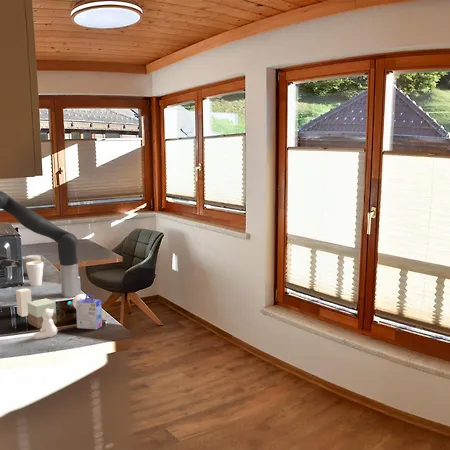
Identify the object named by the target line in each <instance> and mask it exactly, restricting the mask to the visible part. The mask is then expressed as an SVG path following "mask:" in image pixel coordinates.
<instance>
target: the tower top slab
mask: <svg viewBox="0 0 450 450" xmlns="http://www.w3.org/2000/svg"><path fill="white" fill-rule="evenodd" d="M27 304H28V313H29V314H31V315H33V316H35V317H41V316H43V312H44V311H45V309H47V308H49V309H54V312H53V314H54V313H56V314H57V304H56V302H55V301H54V300H51V299H49V298H47V297H46V298H42V299H36V300H33V301H31V302H27Z"/></svg>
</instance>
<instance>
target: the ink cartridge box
mask: <svg viewBox="0 0 450 450" xmlns="http://www.w3.org/2000/svg"><path fill="white" fill-rule="evenodd" d="M85 295H86V298H85V299H80V300H79V301H77V302H76V308H75V310H76V328H77V329H86V330H98V329H99V328H101V327H103V318H102V317H103V314H102V300H101V299H94V296H95V295H94V294H88V293H87V294H85ZM87 297H88V298H87Z"/></svg>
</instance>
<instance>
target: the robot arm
mask: <svg viewBox="0 0 450 450" xmlns="http://www.w3.org/2000/svg"><path fill="white" fill-rule="evenodd" d="M0 210H3V211H5V212H7V213H8V214H10V215H12V216H13V217H14V218H15V219H16V220H17V222H19V224H20V225H22V226H23V227H25V228H26V229H28V230H29V231H32V232H33V233H35V234H37V235H40V236H44V237H46V238H49V239H51V240H53V241H54V242H56V244H57V252H58V260H59V266H60V267H59V269H60V270H59V272H60V273H59V274H60V286H61V287H60V289H61V297H64V298H71V297H76V296H77V295H79V294H82V290H81V287H82V286H81V276H80V275H79V260H78V256H77V247H78V244H79V240H78V237H77V236H76V235H74V234H73V233H71V232H69V231H66V230H64V229H63V228H60V227H58V226H57V225H55V224H54V223H52V221H50V220H48V219H46V218H45V217H43V216H42V215H41V214H39V213H37V212H35V211H33V210H32V209H30V208H29V207H27V206H25V205H23V204H21V203H19V202H18V201H16V200H15V199H13V197H11V196H10V195H8V194H7V193H5V192H4V191H2V190H0ZM22 262H23V261H22V260H21V259H18V258H14V259H9V258H8V257H7V256H6V255H3V254H0V271H4V270H5V269H6V268H14V267H18V268H22V266H23V265H22Z"/></svg>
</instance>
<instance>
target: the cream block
mask: <svg viewBox="0 0 450 450" xmlns="http://www.w3.org/2000/svg"><path fill="white" fill-rule="evenodd" d="M15 297H16V300H15V301H16V312H17V313H16V314H18V316H20V317H28V304H27V302H31V301H32V289H30V288H27V287H26V288H21V289H19V288H18V289H16V290H15Z"/></svg>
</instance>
